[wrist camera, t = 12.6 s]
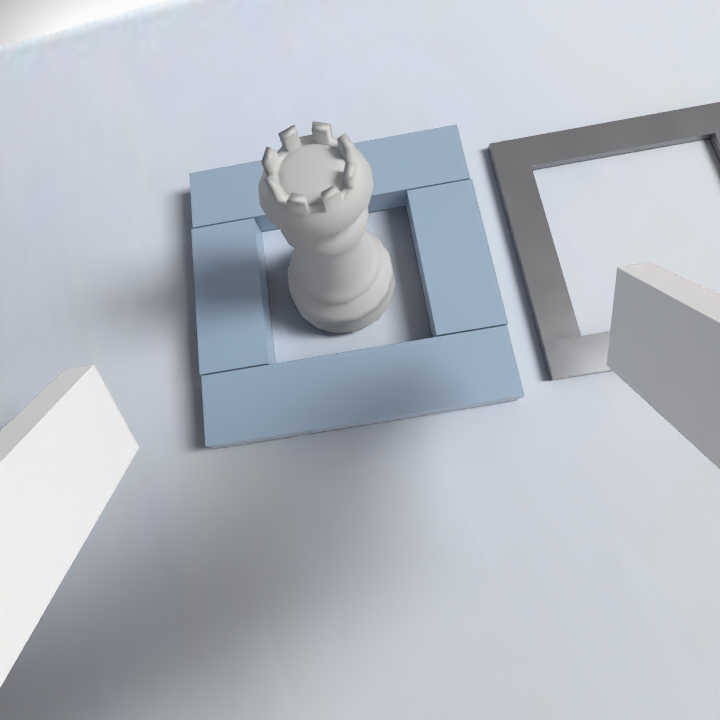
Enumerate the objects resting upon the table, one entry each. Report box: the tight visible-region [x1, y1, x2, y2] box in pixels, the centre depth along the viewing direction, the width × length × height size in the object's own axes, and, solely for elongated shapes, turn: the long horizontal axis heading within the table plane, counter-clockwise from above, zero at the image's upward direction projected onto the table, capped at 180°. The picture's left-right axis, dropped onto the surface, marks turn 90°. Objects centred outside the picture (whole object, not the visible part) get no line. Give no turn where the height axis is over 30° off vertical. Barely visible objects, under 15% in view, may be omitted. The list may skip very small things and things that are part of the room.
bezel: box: [488, 102, 720, 381], centre depth 19 cm, size 11×11×1 cm
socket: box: [190, 125, 524, 448], centre depth 19 cm, size 12×12×1 cm
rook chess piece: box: [258, 122, 396, 334], centre depth 15 cm, size 4×4×8 cm
